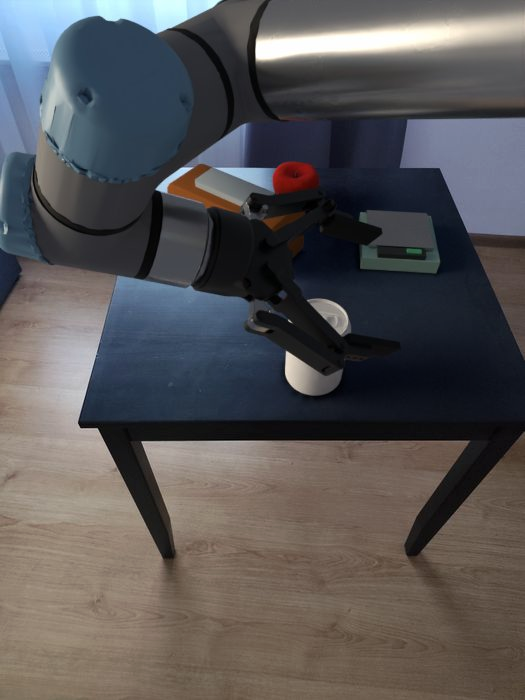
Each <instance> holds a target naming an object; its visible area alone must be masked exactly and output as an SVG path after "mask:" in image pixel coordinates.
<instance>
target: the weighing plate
mask: <svg viewBox="0 0 525 700" xmlns="http://www.w3.org/2000/svg"><path fill="white" fill-rule="evenodd" d="M365 213H366V217H367V224H370V225H374V226H377V227H380V228H382V233H383V234H382V235H380V236H379V237H378V238H377V239H375V240H374V241H373V242H371V243H370V244H369V245H368V247H376V248H378V247H393V248H410V249H425V250H427V251H433V249H434V246H433V241H432V236H431V231H430V226H429V221H428V216H429V215H428V213H427V212H410V211H394V210H393V211H391V210H375V209H374V210H373V209H367V210H366V211H365Z"/></svg>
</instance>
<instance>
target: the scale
mask: <svg viewBox="0 0 525 700" xmlns="http://www.w3.org/2000/svg"><path fill="white" fill-rule="evenodd" d="M427 216H428V221H429V226H430V231H431V236H432V241H433V246H434V249H433V251H427V250H425V249H410V248H393V247H378V248H376V247H368V245H367V246H365V245H361V244H358V245H359V267H360V268H359V269H360V270H374V271H375V270H376V271H390V272H391V271H392V272H407V273H423V274H437V273H438V269H439V267H440V264H441V259H440V253H439V249H438V245H437V239H436V235H435V234H436V233H435V230H434V224H433V219H432V215H427ZM358 221H361V222H364V223H367V217H366V211H364V212H362V211H361V212H360V213H359V217H358Z"/></svg>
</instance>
